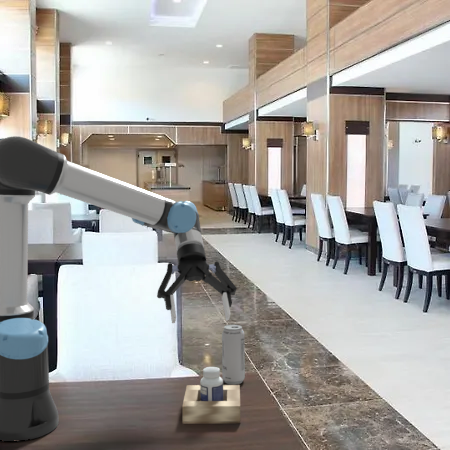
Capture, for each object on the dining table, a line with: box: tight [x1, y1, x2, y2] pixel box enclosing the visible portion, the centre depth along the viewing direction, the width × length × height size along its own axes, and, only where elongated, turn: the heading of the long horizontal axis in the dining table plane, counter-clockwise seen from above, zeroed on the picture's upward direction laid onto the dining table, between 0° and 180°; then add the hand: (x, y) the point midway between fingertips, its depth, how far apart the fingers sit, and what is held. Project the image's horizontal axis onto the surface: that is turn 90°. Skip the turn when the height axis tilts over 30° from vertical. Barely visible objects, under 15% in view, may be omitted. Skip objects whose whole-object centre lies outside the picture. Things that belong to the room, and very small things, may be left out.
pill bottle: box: [199, 366, 224, 401], centre depth 137 cm, size 5×5×10 cm
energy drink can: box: [221, 324, 246, 385], centre depth 157 cm, size 6×6×15 cm
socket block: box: [182, 384, 241, 425], centre depth 138 cm, size 13×13×4 cm
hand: (201, 318), depth 143 cm, fingers open, 13 cm apart
